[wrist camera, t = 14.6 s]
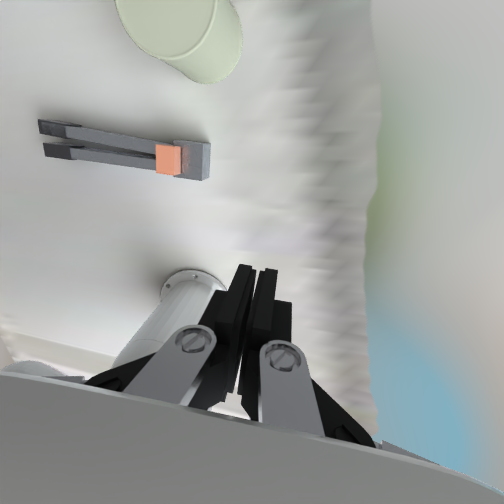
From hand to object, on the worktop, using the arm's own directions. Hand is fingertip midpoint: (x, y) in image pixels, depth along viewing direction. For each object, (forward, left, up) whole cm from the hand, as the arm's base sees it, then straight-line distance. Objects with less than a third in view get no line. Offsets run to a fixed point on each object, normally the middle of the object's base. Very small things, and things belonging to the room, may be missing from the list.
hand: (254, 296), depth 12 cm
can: (+16, +12, -29) cm, 35 cm away
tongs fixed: (+2, +22, -29) cm, 37 cm away
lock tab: (+2, +15, -25) cm, 29 cm away
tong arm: (+4, +25, -29) cm, 38 cm away
